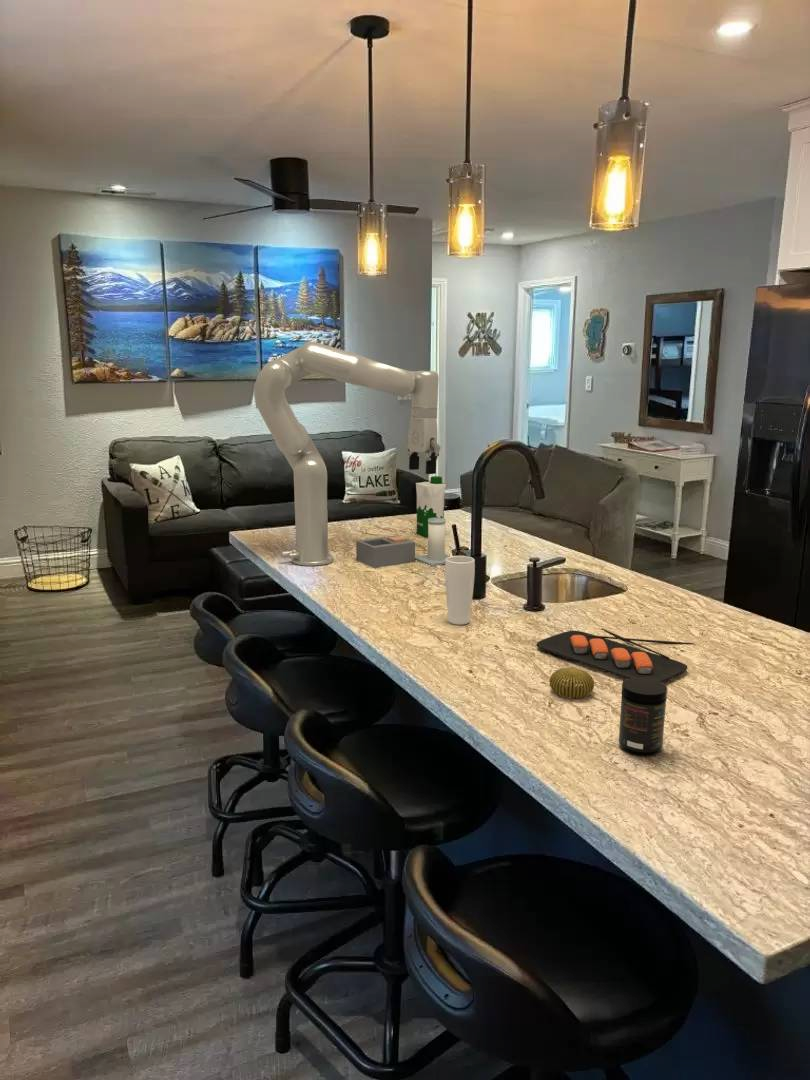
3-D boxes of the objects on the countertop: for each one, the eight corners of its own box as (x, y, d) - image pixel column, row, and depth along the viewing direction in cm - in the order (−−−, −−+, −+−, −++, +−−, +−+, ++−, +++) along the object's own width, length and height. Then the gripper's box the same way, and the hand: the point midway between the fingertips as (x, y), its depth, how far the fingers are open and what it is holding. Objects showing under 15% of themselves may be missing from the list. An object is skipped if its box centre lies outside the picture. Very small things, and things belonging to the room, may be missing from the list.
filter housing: (374, 567, 233) (374, 547, 232) (356, 559, 243) (356, 540, 241) (415, 561, 241) (415, 542, 239) (396, 554, 250) (396, 535, 248)
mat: (431, 566, 235) (431, 564, 235) (413, 559, 243) (413, 557, 243) (459, 562, 240) (459, 559, 240) (440, 555, 248) (440, 552, 248)
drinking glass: (471, 627, 182) (473, 563, 179) (442, 625, 184) (443, 562, 180) (475, 618, 189) (476, 556, 185) (446, 616, 190) (447, 554, 187)
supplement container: (665, 742, 128) (670, 681, 126) (659, 761, 122) (664, 697, 120) (622, 734, 131) (626, 674, 129) (614, 752, 125) (618, 689, 123)
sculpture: (541, 672, 146) (566, 661, 152) (540, 693, 147) (565, 681, 153) (578, 685, 141) (603, 672, 146) (577, 706, 142) (602, 693, 147)
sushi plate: (530, 652, 169) (530, 634, 168) (614, 621, 188) (615, 606, 188) (651, 694, 148) (653, 675, 147) (732, 656, 167) (734, 638, 166)
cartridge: (433, 561, 238) (434, 521, 235) (424, 557, 242) (424, 518, 239) (448, 559, 240) (449, 519, 238) (438, 555, 245) (439, 516, 242)
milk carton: (447, 536, 274) (448, 478, 270) (423, 538, 271) (424, 480, 266) (435, 531, 282) (436, 475, 278) (412, 533, 279) (412, 476, 274)
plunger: (394, 556, 241) (394, 540, 239) (388, 553, 244) (387, 537, 243) (406, 554, 243) (406, 538, 242) (399, 551, 246) (399, 536, 245)
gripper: (398, 411, 241) (397, 468, 245) (428, 416, 227) (426, 476, 230) (420, 411, 245) (418, 467, 249) (451, 415, 230) (448, 475, 234)
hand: (422, 471), depth 240 cm, fingers open, 9 cm apart
